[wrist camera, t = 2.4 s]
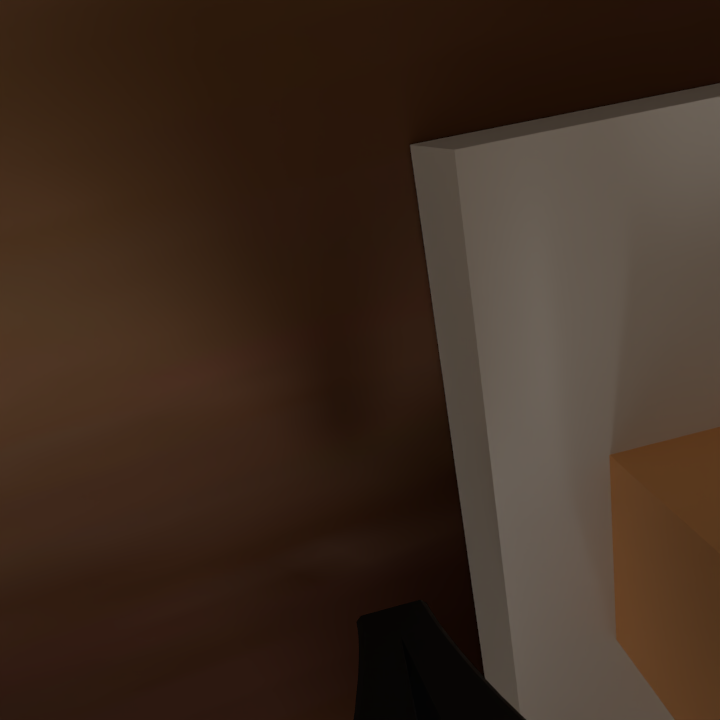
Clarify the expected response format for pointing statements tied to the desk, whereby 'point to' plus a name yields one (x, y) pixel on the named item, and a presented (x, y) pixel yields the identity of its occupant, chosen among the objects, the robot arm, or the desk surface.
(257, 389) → the desk surface
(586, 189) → the box
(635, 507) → the orange block
